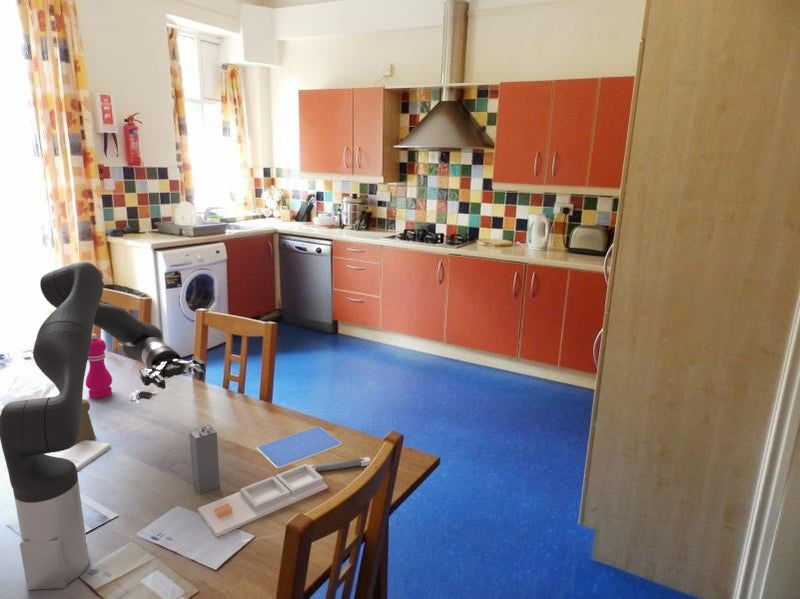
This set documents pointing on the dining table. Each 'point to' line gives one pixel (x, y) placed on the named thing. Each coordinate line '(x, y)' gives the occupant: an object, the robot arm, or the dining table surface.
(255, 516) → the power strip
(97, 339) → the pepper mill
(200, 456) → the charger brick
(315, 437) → the tablet computer
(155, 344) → the robot arm
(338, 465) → the grey bar
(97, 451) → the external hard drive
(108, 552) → the dining table surface
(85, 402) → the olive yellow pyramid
